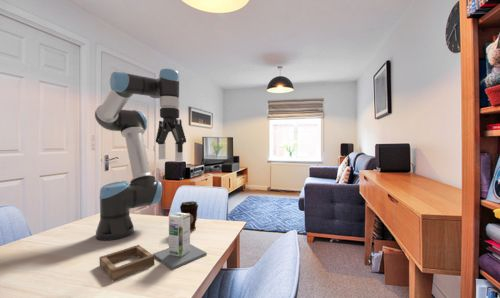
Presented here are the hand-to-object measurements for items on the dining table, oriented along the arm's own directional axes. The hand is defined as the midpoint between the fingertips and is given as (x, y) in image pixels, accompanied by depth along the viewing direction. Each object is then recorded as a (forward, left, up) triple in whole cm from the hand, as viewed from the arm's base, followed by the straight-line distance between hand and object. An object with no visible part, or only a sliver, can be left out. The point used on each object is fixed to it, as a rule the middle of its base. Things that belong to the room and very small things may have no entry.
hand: (170, 160), depth 97 cm
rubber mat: (+12, -3, -35) cm, 37 cm away
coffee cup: (-8, +14, -35) cm, 38 cm away
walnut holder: (+5, -19, -35) cm, 40 cm away
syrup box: (+12, -3, -34) cm, 36 cm away
